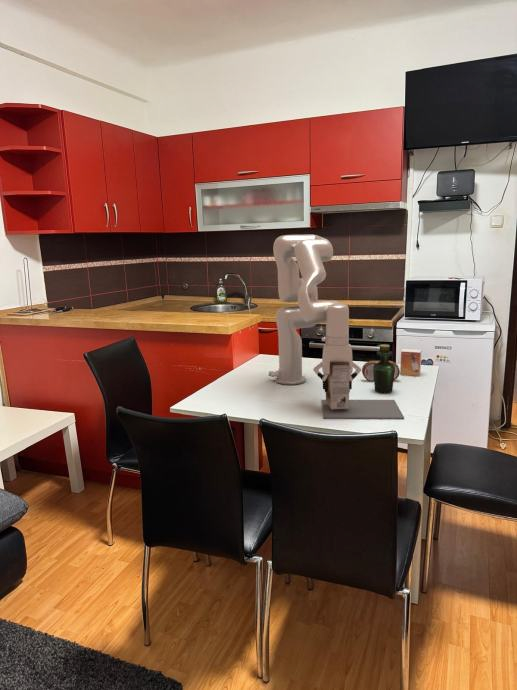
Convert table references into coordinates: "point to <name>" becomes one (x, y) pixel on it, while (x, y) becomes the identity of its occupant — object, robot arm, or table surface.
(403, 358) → the small box
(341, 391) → the coffee box
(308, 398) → the table surface
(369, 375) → the tin
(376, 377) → the potion bottle
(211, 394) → the table surface
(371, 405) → the mat
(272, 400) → the table surface
